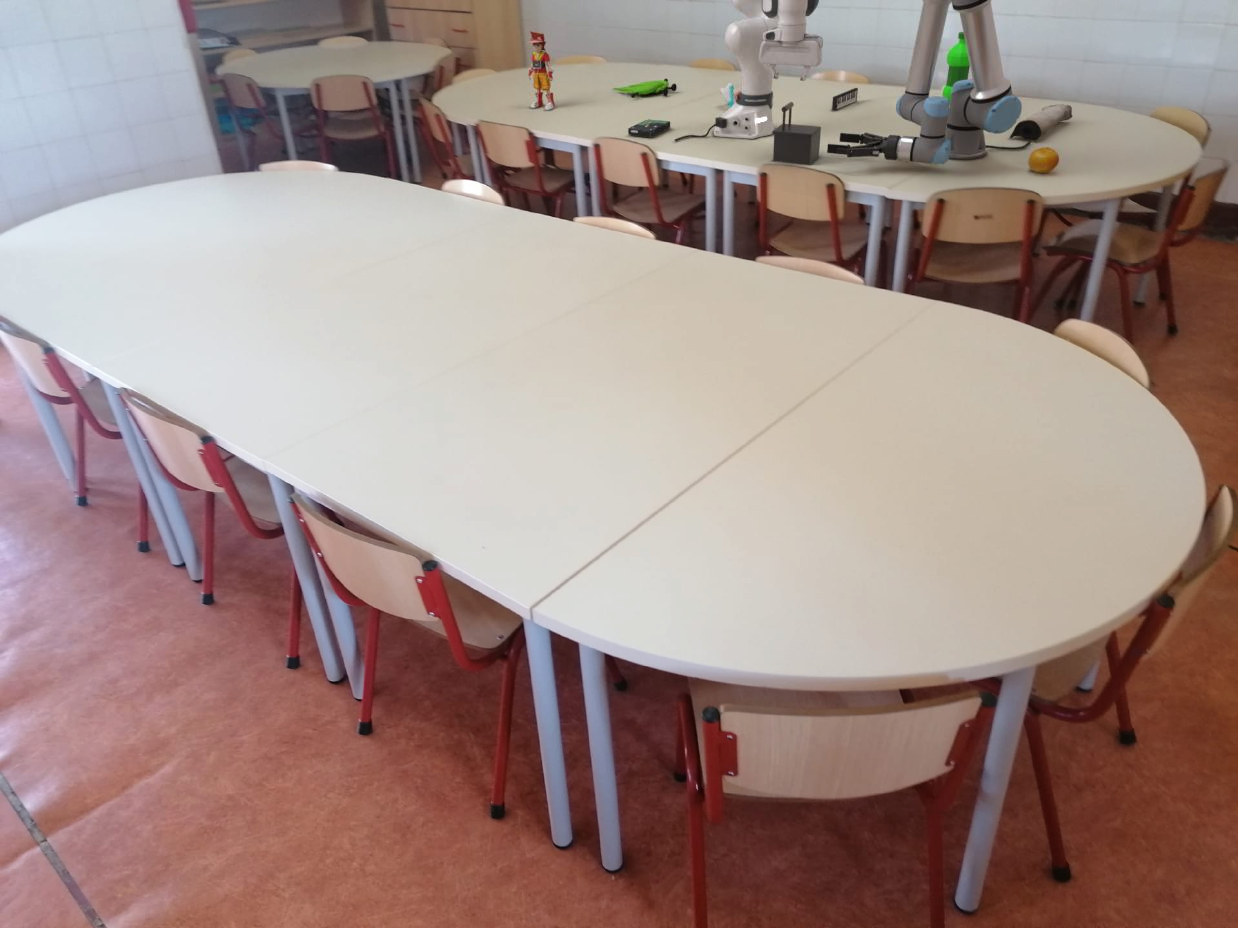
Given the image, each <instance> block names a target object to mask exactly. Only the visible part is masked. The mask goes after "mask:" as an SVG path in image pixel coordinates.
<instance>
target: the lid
mask: <svg viewBox="0 0 1238 928" xmlns="http://www.w3.org/2000/svg"><path fill="white" fill-rule="evenodd" d="M793 107H795V105H794V102H793V101H789V102H788V103H787V104H785V105H783V106H782V107H781V112H782V123H781V124H780V125H779V126H777V127H776V128H774V130H773V131H772V134H771V135H774V134H783V135H794V136H806V137H812V136H813V135H814V134H816V133H817V132H818V131H819V130H821V131H822V126H820V125H819V126H818V125H807V124H806V125H805V124H792V110H793ZM787 112H788V123H786V117H787V116H786V115H787Z"/></svg>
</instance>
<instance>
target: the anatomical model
mask: <svg viewBox="0 0 1238 928" xmlns="http://www.w3.org/2000/svg"><path fill="white" fill-rule="evenodd" d="M734 90H735V87H734V85H733V84H732V82H728V83H727V85H726V86H725V87H721V88H720V89H719V91H720V94H721V96H722V98H723V100H724V101H725V102H726V103H727V105H728V106H729V108H730V107H732V106H733V105H734V104H735V103H736V93H737V91H735V92H734ZM741 90H742V89H740V90H738V91H741Z"/></svg>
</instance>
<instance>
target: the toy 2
mask: <svg viewBox="0 0 1238 928" xmlns="http://www.w3.org/2000/svg"><path fill="white" fill-rule="evenodd" d="M669 85H670V83H669V79H668V78H664V79H663V80H649V81H644V82H640V83H634V84H629V85H627V86H621V87H613V88H612V89H613V90H616V91H619V92H623V93H627V94H628V93H629V94H631V95H630V96H631V98H632V99H634V98H636V96H637V95H650V94H652V93H654V94H658V93H662V95H663V96H665V97H667V96H668V95H669V90H671V91H672V92H676V91H677V84H676V83H672V84H671V86H669Z"/></svg>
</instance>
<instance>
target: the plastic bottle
mask: <svg viewBox="0 0 1238 928" xmlns="http://www.w3.org/2000/svg"><path fill="white" fill-rule="evenodd" d="M957 39H958V42H957V43H956V44H954V45H953V46H952V47H951V48H950V49H949V50H948V52H947V54H946V63H947V64H948V69H947V70H948V71H947V76H946V77H947V78H946V84H945V85H944V87H943V90H942V97H946V98H948V99H949V101H950V99H951V92H952V88H953V85H954V83H955V82H957V81H961V80H969V73H970V69H971V68H970V63H969V58H968V53H967V48H966V43H965V38H964V33H963V31H959V32H958V36H957Z"/></svg>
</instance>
